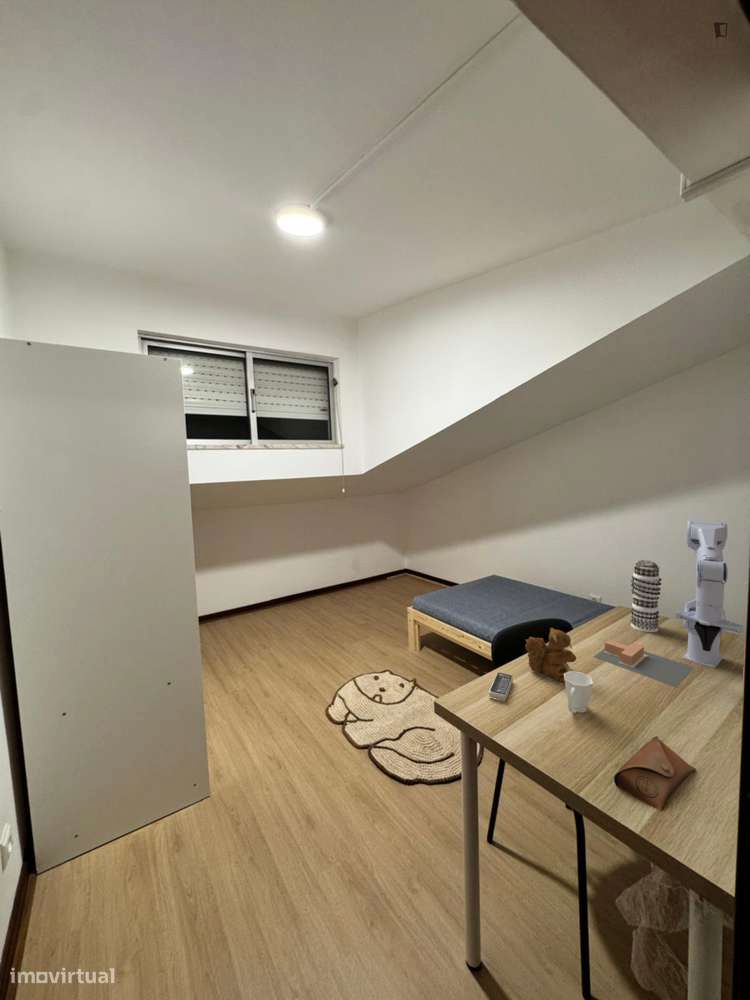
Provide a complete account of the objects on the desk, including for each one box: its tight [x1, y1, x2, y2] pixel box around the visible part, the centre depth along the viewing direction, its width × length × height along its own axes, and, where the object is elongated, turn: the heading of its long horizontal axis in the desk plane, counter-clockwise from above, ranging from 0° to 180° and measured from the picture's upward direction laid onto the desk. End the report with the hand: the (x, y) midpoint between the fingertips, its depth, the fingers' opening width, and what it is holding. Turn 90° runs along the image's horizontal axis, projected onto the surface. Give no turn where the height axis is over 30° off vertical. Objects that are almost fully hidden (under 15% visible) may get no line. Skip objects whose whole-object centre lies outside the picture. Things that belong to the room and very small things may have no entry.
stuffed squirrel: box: [524, 627, 577, 683], centre depth 118 cm, size 10×14×13 cm
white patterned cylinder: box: [630, 560, 663, 633], centre depth 145 cm, size 9×9×25 cm
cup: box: [564, 670, 594, 714], centre depth 100 cm, size 7×10×8 cm
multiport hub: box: [488, 671, 514, 701], centre depth 110 cm, size 4×11×2 cm, turn 151°
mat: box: [593, 643, 695, 688], centre depth 122 cm, size 16×22×1 cm
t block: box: [604, 639, 645, 666], centre depth 126 cm, size 10×9×3 cm
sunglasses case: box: [613, 735, 697, 812], centre depth 80 cm, size 18×7×7 cm, turn 124°
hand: (706, 649), depth 110 cm, fingers closed
